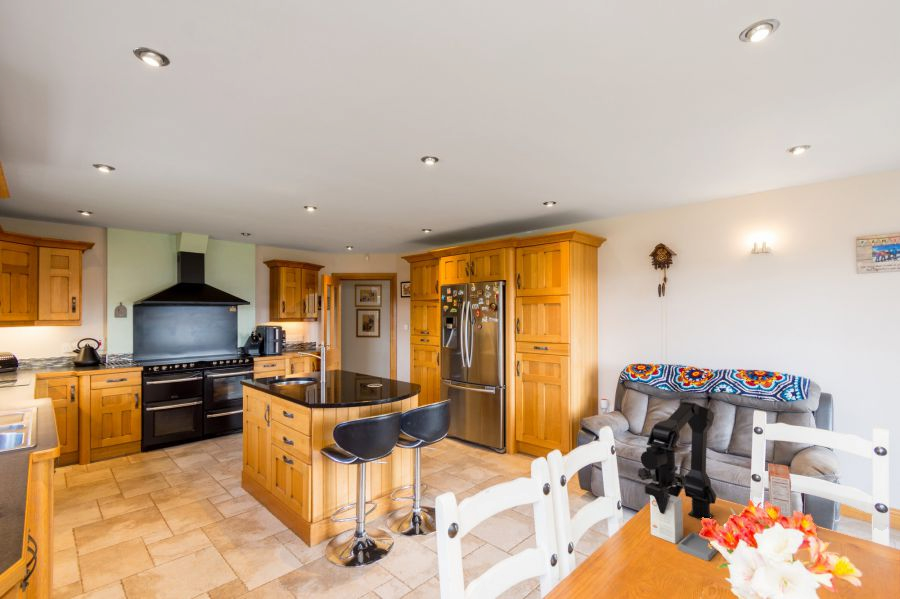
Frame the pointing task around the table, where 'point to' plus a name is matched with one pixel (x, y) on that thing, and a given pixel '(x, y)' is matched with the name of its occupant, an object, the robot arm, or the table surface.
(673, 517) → the small box
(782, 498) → the cracker box
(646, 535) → the table surface
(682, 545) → the tray
